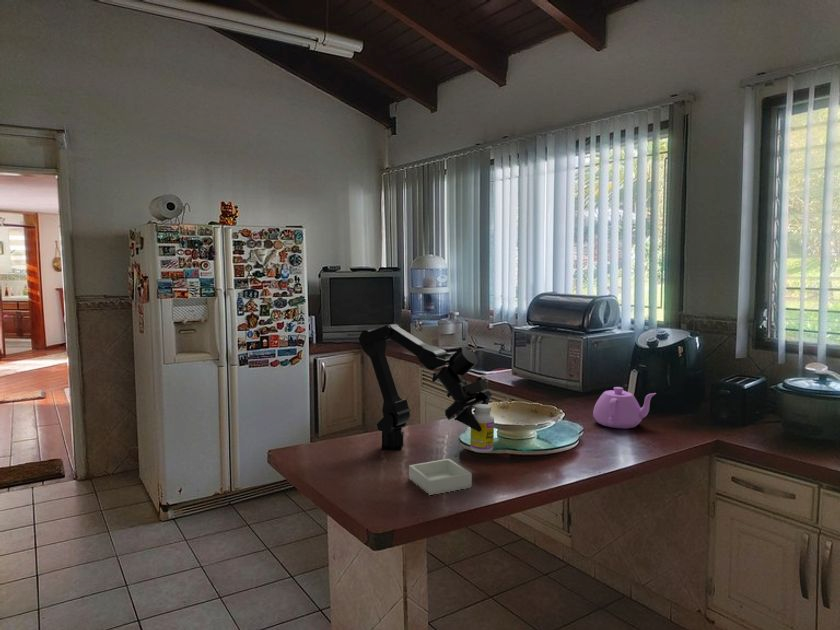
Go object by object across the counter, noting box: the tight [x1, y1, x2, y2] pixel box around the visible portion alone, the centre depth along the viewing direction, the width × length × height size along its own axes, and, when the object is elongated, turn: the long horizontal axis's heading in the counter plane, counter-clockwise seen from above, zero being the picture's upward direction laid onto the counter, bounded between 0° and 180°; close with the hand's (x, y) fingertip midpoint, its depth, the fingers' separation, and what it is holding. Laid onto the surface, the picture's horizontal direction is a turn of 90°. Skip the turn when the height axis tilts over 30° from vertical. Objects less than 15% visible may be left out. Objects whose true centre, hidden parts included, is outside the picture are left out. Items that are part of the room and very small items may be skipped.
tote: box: [408, 458, 473, 496], centre depth 159 cm, size 13×13×4 cm
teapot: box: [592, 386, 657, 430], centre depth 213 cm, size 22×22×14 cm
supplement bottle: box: [469, 404, 495, 454], centre depth 168 cm, size 7×7×13 cm
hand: (486, 427), depth 167 cm, fingers closed on supplement bottle, 7 cm apart
